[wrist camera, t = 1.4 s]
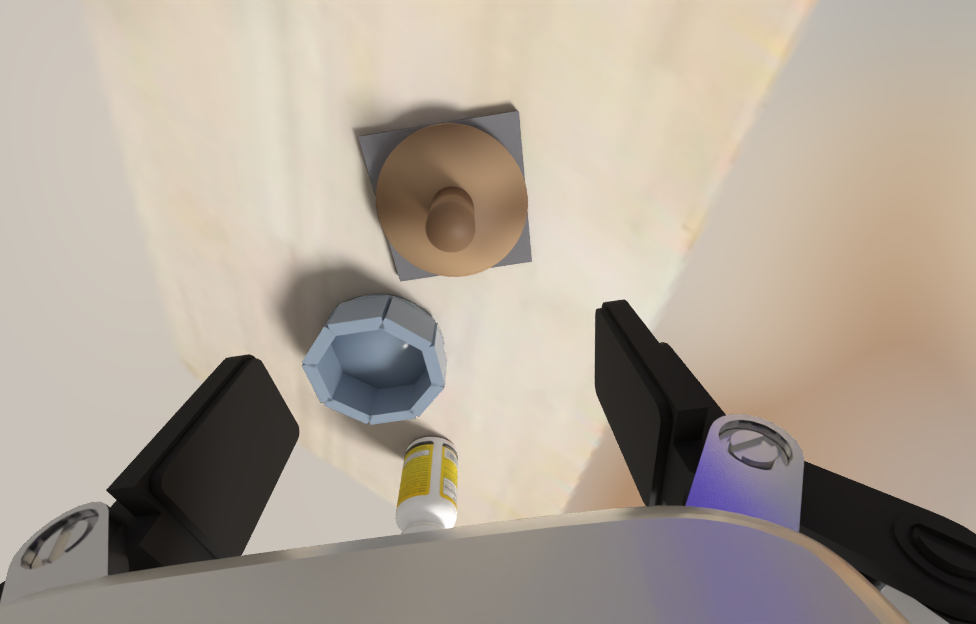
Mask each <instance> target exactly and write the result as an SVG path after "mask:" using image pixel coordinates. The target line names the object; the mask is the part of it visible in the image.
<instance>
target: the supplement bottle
mask: <svg viewBox="0 0 976 624" xmlns="http://www.w3.org/2000/svg"><path fill="white" fill-rule="evenodd" d="M457 467H458V456H457V450H456V448H455V446H454V445H453V444H452V443H451V442H449V441H448V440H446V439H443V438H439V437H423V438H420V439H417V440H415V441H414V442H412V443H411V444H410V445H409V446H408V448H407V450H406V453H405V458H404V464H403V471H402V477H401V484H400V490H399V497H398V503H397V509H396V522H397V525H398V527H399V529H400V530H401V531H402V533H401V534H408V533H416V532H423V531H431V530H439V529H447V528H452V527H453V526H454V524H455V521H456V516H457Z"/></svg>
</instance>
